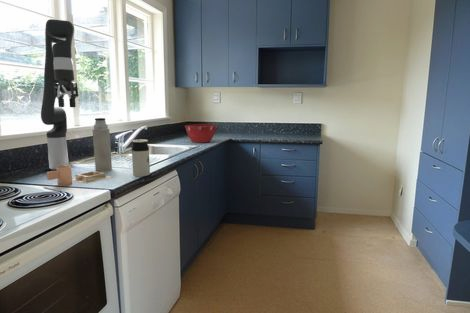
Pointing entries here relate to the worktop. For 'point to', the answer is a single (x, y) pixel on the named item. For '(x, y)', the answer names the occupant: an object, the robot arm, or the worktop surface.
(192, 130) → the mixing bowl
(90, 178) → the dock
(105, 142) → the thermos bottle
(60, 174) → the tabbed peach cylinder
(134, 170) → the travel mug
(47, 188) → the mat
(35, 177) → the worktop surface
